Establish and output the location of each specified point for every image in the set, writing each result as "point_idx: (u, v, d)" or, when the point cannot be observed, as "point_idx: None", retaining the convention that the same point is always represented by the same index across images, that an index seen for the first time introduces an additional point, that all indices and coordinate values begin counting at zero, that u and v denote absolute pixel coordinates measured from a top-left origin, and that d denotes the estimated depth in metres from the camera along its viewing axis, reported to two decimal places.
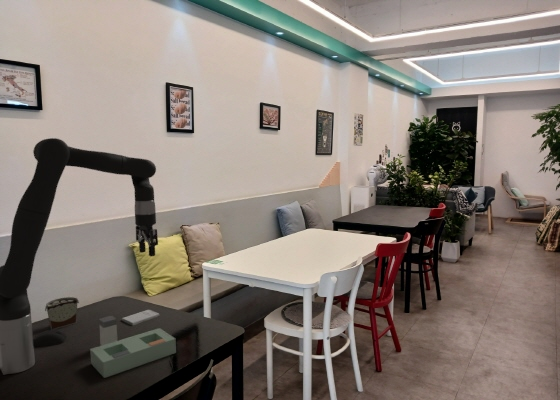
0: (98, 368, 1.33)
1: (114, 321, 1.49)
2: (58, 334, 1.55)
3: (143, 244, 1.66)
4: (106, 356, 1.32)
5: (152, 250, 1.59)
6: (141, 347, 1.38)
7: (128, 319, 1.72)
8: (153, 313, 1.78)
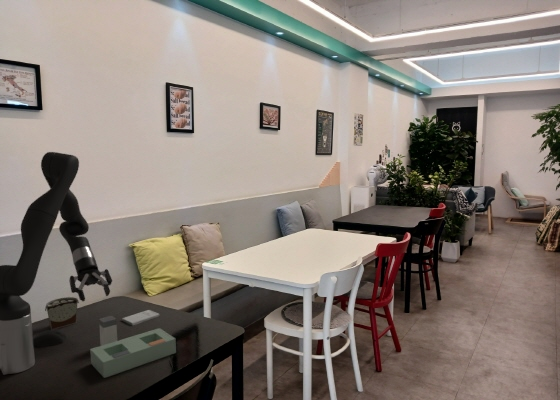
0: (98, 368, 1.33)
1: (114, 321, 1.49)
2: (57, 334, 1.54)
3: None
4: (106, 356, 1.32)
5: None
6: (141, 347, 1.38)
7: (128, 319, 1.72)
8: (153, 313, 1.78)
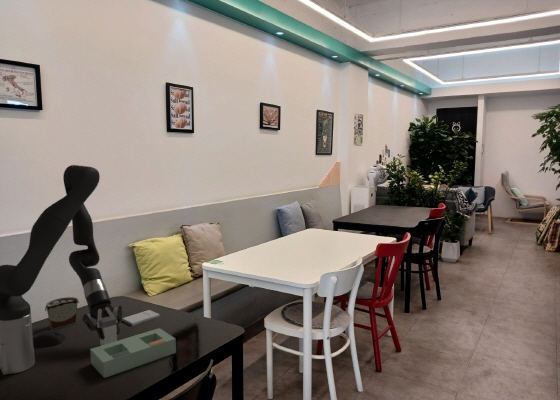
0: (98, 368, 1.33)
1: (114, 321, 1.49)
2: (55, 335, 1.54)
3: None
4: (106, 356, 1.32)
5: None
6: (141, 347, 1.38)
7: (128, 319, 1.72)
8: (153, 313, 1.78)
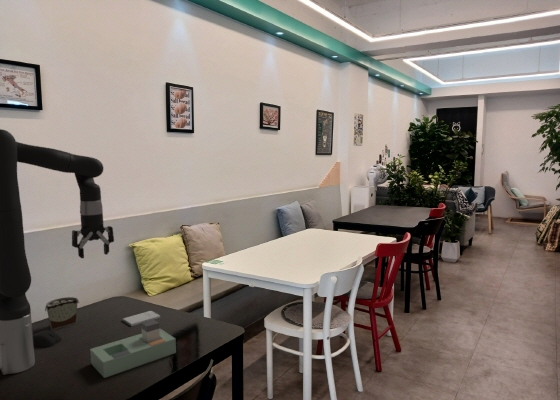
0: (98, 368, 1.33)
1: (157, 325, 1.44)
2: (49, 337, 1.52)
3: None
4: (106, 356, 1.32)
5: None
6: (141, 347, 1.38)
7: (128, 320, 1.71)
8: (154, 315, 1.77)
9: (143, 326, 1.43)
